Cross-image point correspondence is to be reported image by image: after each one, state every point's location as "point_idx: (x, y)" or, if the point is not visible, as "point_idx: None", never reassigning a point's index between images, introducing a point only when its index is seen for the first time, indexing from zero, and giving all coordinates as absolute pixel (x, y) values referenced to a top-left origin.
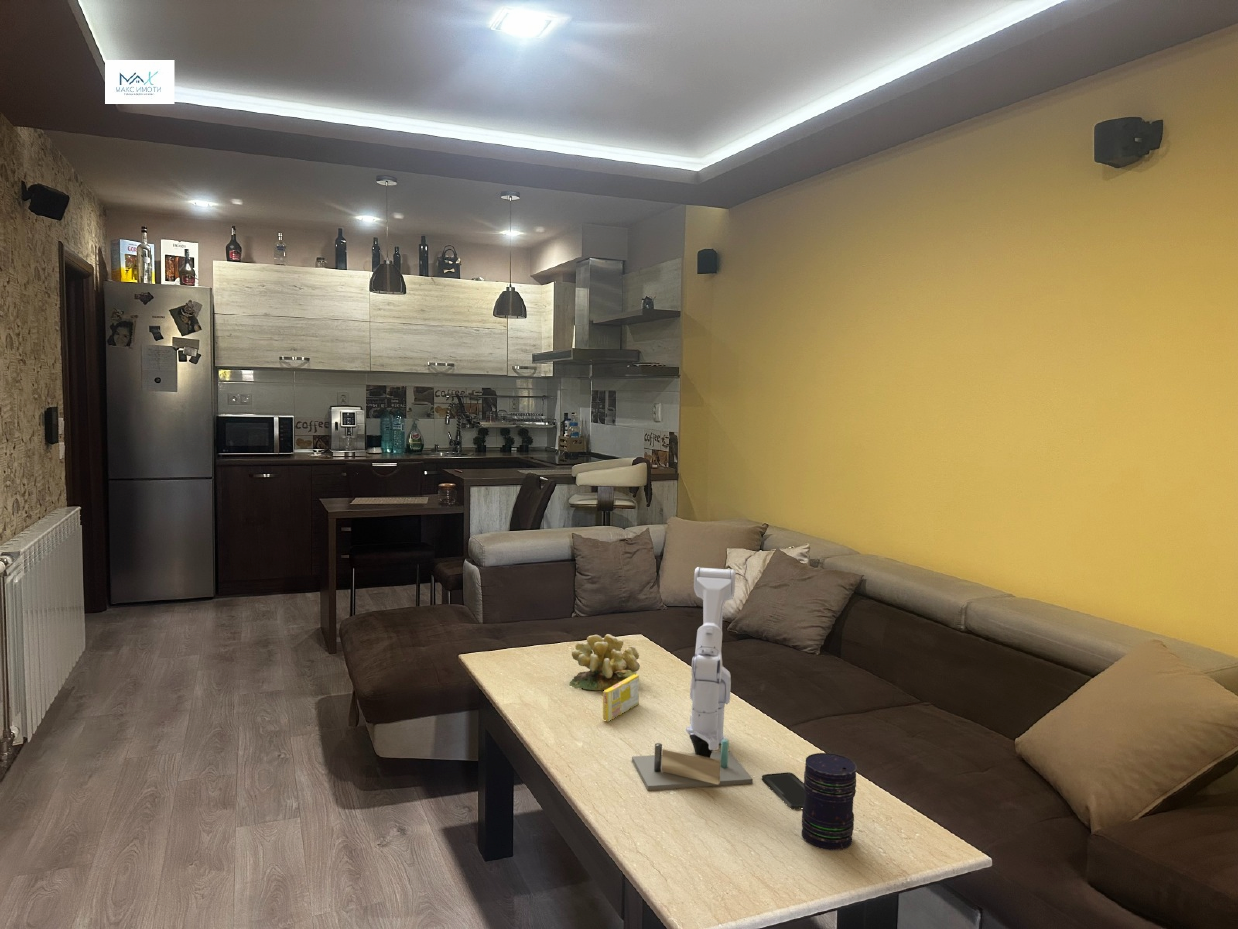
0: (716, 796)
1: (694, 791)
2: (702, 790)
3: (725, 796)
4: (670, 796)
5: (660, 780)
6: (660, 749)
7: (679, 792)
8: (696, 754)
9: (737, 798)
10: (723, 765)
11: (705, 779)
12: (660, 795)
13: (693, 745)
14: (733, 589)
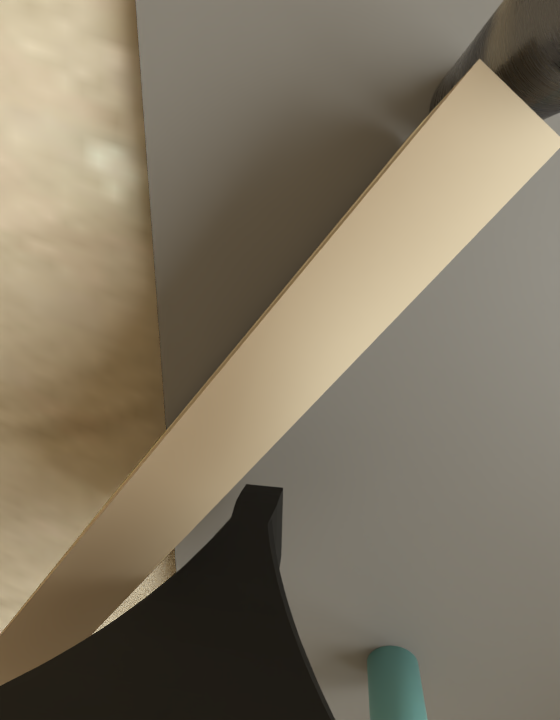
0: (48, 459)
1: (119, 348)
2: (131, 407)
3: (49, 507)
4: (42, 128)
5: (239, 77)
6: (527, 26)
7: (107, 229)
8: (203, 570)
9: (27, 555)
10: (373, 670)
11: (133, 470)
12: (58, 35)
13: (270, 654)
14: None
